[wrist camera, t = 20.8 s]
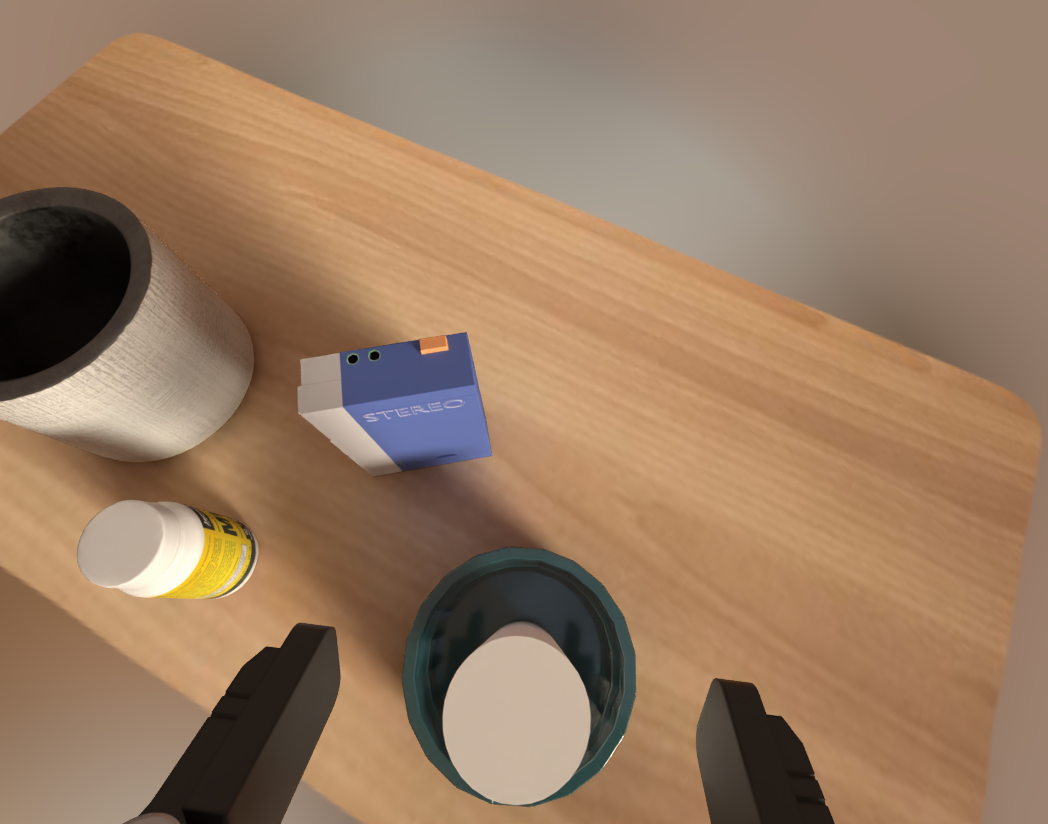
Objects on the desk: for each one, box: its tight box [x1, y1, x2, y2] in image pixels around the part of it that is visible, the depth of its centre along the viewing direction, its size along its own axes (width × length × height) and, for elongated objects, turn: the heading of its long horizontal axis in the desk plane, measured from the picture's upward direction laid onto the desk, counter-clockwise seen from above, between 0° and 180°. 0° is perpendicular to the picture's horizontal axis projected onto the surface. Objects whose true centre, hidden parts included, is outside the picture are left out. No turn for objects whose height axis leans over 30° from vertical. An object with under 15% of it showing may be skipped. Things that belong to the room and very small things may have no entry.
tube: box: [443, 621, 591, 805], centre depth 22 cm, size 4×4×15 cm
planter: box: [0, 187, 254, 462], centre depth 31 cm, size 12×12×11 cm
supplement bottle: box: [77, 500, 258, 599], centre depth 28 cm, size 5×5×8 cm
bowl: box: [402, 547, 636, 807], centre depth 27 cm, size 11×11×5 cm
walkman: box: [297, 332, 492, 477], centre depth 29 cm, size 8×3×12 cm, turn 100°
